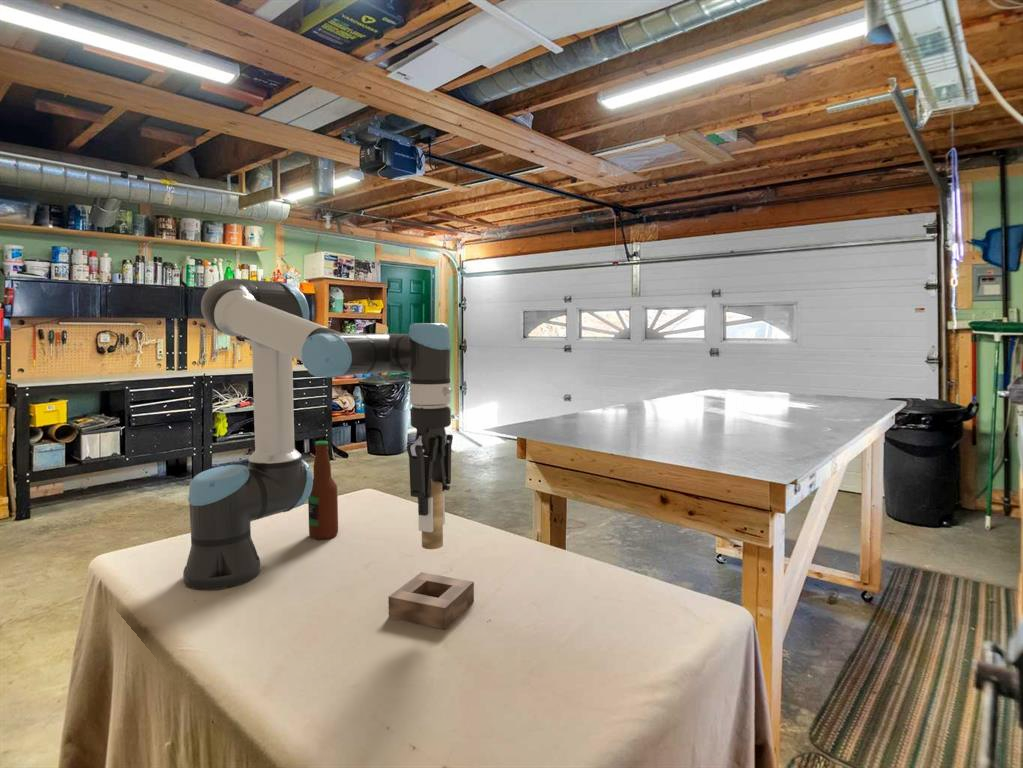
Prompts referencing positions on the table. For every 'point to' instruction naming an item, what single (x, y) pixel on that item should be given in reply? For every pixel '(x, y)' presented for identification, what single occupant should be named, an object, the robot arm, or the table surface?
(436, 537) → the oak peg
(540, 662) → the table surface
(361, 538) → the table surface
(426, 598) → the walnut socket
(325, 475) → the bottle
